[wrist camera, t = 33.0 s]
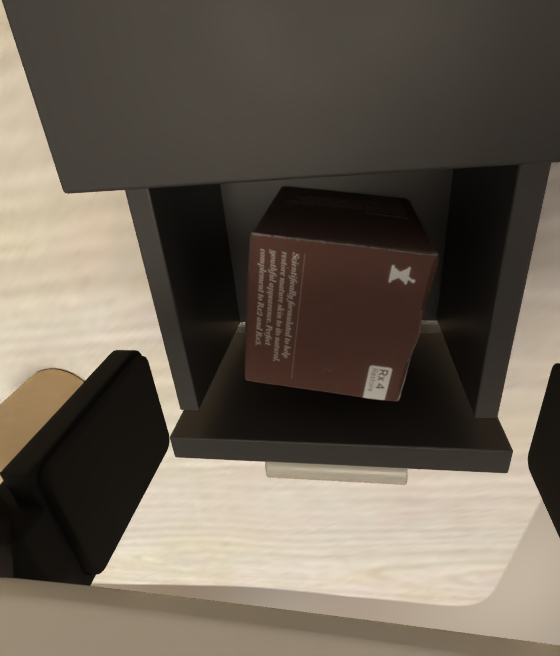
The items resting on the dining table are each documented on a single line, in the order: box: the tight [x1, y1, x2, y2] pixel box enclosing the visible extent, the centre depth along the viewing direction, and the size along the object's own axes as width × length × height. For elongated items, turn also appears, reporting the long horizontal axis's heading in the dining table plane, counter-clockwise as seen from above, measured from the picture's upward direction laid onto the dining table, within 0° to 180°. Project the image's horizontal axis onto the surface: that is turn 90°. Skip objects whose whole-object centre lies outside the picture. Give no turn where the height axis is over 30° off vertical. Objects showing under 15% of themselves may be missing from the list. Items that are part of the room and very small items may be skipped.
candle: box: [0, 369, 84, 484], centre depth 27 cm, size 6×6×10 cm
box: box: [244, 187, 439, 401], centre depth 17 cm, size 6×6×7 cm
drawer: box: [125, 163, 551, 485], centre depth 18 cm, size 19×13×9 cm
